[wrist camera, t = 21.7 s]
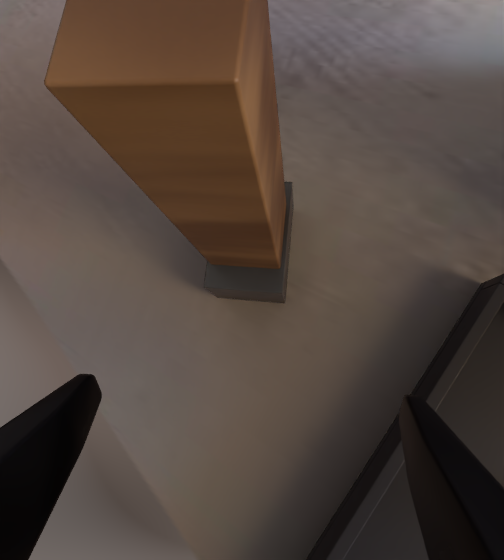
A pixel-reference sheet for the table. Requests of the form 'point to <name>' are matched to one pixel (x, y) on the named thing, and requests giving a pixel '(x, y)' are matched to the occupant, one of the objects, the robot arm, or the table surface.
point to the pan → (454, 412)
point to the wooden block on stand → (188, 124)
